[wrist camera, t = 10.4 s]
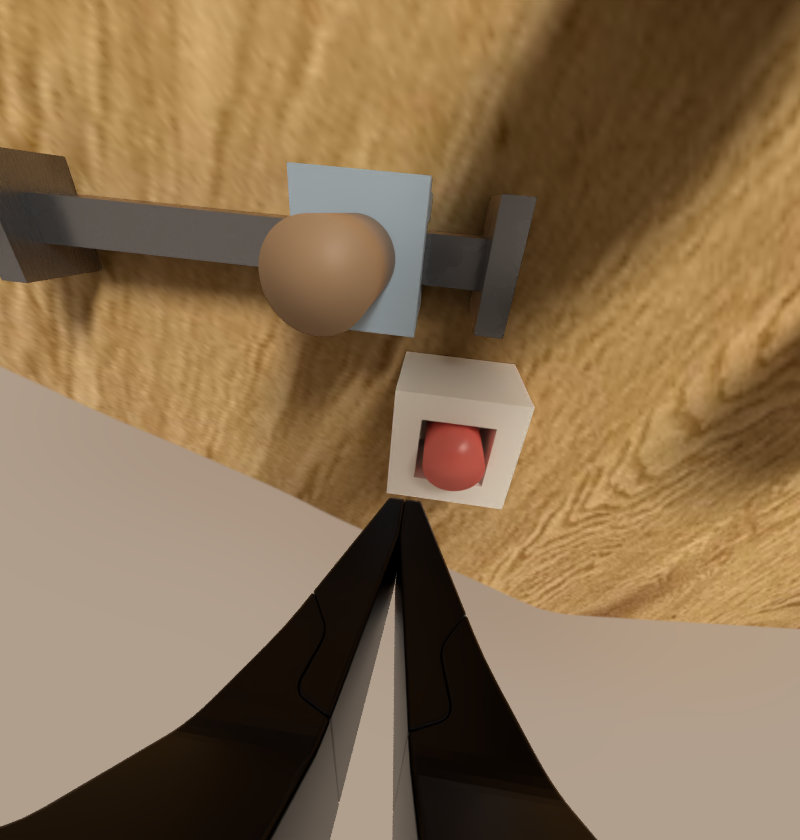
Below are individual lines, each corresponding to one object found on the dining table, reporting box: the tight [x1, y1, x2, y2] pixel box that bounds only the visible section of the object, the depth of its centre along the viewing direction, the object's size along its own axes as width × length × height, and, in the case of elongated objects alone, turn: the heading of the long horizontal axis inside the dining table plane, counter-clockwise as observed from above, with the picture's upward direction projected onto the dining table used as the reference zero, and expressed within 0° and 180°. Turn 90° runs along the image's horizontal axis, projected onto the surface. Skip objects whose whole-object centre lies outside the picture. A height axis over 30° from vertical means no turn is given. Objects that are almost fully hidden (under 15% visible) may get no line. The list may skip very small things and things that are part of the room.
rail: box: [0, 147, 537, 339], centre depth 16 cm, size 22×5×4 cm, turn 85°
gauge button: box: [422, 420, 485, 491], centre depth 18 cm, size 3×3×4 cm
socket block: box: [387, 351, 535, 509], centre depth 19 cm, size 6×6×5 cm
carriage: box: [258, 162, 433, 337], centre depth 13 cm, size 5×6×9 cm
